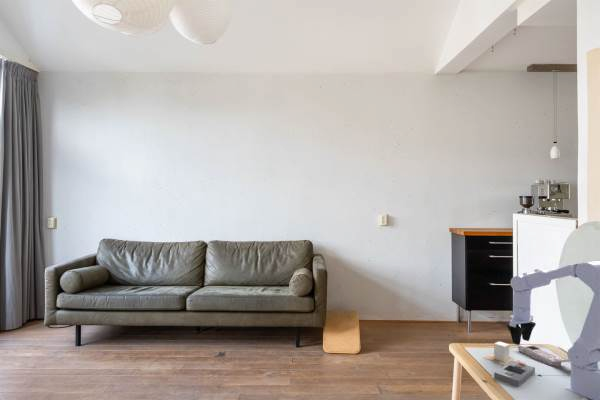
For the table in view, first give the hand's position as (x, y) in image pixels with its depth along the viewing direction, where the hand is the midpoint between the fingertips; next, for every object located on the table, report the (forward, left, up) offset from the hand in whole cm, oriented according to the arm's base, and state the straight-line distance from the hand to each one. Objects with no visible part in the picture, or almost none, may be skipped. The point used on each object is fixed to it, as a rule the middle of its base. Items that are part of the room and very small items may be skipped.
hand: (521, 342), depth 146 cm
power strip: (-3, +11, -10) cm, 15 cm away
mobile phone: (-3, -14, -10) cm, 17 cm away
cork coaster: (+7, +1, -9) cm, 11 cm away
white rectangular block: (+7, +1, -9) cm, 11 cm away
